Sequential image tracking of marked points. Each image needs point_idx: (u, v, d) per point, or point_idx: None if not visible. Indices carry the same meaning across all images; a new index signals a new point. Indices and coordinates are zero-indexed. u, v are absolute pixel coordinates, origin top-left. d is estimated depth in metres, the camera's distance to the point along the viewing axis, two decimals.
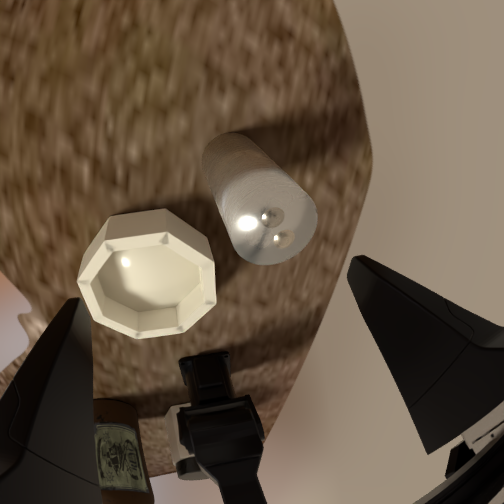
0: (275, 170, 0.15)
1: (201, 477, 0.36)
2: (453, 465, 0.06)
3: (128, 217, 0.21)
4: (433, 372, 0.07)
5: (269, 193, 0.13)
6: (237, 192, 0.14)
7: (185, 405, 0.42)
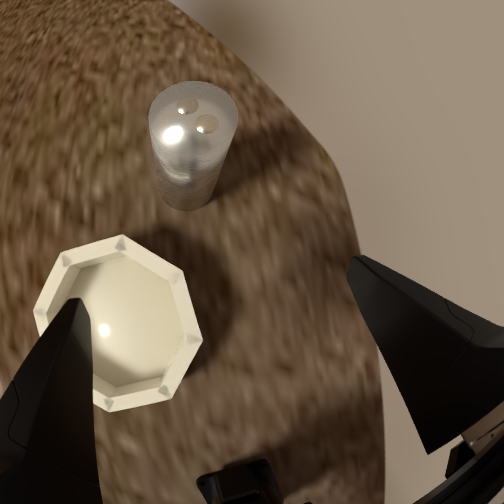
0: None
1: None
2: (453, 465, 0.06)
3: None
4: (433, 372, 0.07)
5: (177, 87, 0.13)
6: None
7: None
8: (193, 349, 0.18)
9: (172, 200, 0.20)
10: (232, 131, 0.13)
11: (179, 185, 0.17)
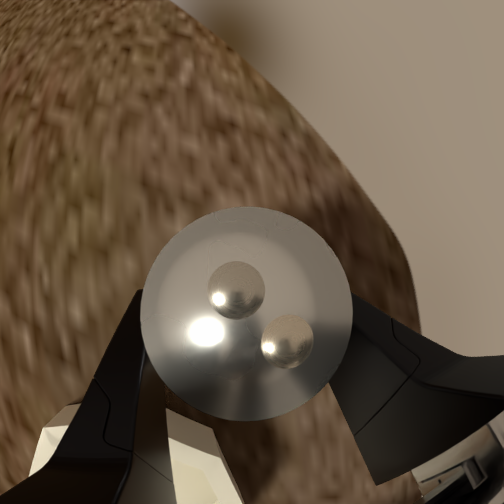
0: None
1: None
2: None
3: None
4: (375, 402, 0.06)
5: (204, 230, 0.06)
6: None
7: None
8: None
9: None
10: (342, 352, 0.06)
11: None
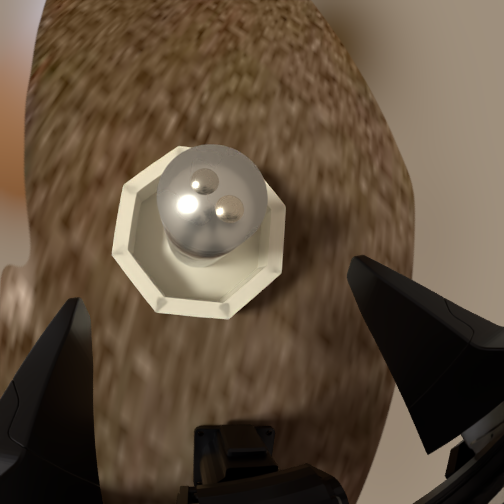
0: None
1: None
2: (453, 465, 0.06)
3: None
4: (433, 372, 0.07)
5: (191, 153, 0.11)
6: None
7: None
8: (269, 278, 0.19)
9: (184, 261, 0.19)
10: (260, 219, 0.12)
11: (194, 259, 0.15)
